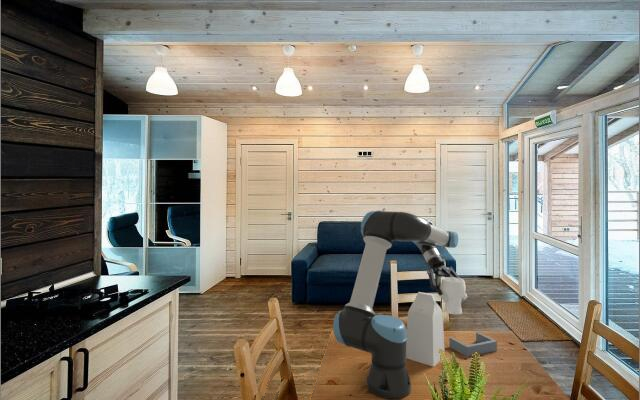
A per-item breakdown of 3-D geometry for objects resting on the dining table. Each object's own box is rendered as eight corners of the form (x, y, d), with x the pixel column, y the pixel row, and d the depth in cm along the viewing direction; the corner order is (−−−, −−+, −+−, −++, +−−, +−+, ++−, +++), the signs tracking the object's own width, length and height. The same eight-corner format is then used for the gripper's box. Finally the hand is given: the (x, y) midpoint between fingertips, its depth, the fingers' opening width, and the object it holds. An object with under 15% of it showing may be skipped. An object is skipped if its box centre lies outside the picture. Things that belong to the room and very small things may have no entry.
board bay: (467, 357, 147) (467, 347, 147) (449, 346, 157) (449, 337, 157) (496, 350, 153) (497, 341, 153) (477, 341, 163) (477, 332, 163)
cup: (461, 308, 172) (461, 277, 172) (468, 316, 162) (468, 282, 161) (438, 307, 173) (439, 276, 173) (443, 315, 163) (444, 282, 162)
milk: (444, 356, 148) (445, 293, 147) (433, 366, 139) (434, 299, 139) (416, 348, 156) (417, 288, 155) (404, 357, 147) (405, 294, 146)
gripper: (448, 262, 186) (471, 301, 172) (411, 265, 178) (431, 306, 164) (456, 253, 181) (480, 293, 167) (418, 256, 173) (439, 298, 159)
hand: (456, 299), depth 166 cm, fingers closed on cup, 11 cm apart
